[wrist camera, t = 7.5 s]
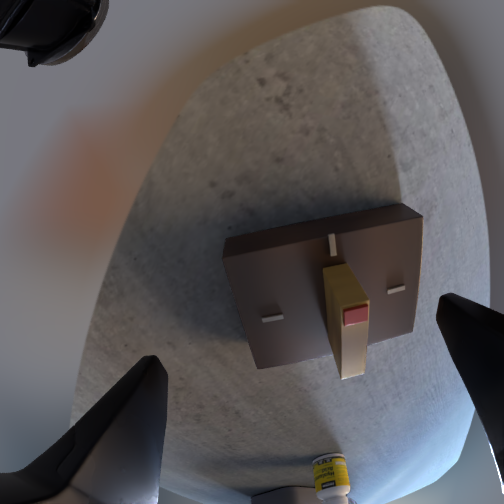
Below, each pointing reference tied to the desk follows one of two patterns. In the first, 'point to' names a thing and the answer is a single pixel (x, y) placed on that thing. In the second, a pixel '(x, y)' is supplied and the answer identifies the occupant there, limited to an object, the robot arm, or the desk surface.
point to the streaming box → (288, 496)
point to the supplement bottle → (331, 478)
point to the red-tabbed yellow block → (346, 319)
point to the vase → (351, 501)
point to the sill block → (312, 282)
